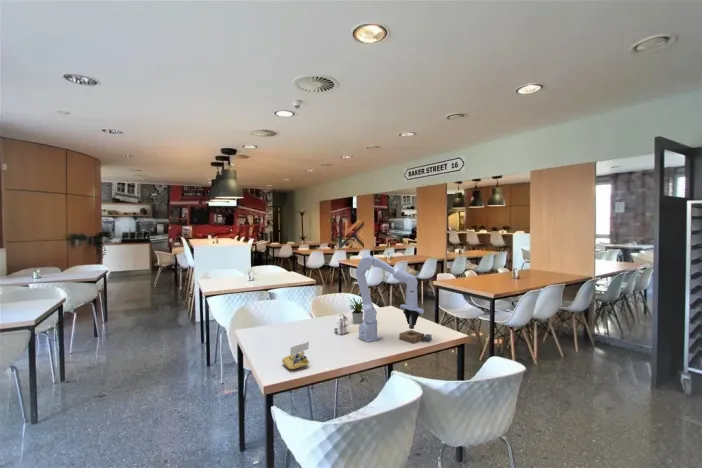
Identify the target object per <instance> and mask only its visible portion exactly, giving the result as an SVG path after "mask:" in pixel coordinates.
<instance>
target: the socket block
mask: <svg viewBox="0 0 702 468" xmlns="http://www.w3.org/2000/svg"><path fill="white" fill-rule="evenodd" d="M424 336H425V334H424V333H422V332H419V331H416V330H414V329H409V330H406V331H402V332H400V333H399V340H401V341H403V342H406V343H410V344H412V345H413V344H416V343H419V342H421V341H422V342H423V337H424Z"/></svg>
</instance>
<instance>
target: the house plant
mask: <svg viewBox="0 0 702 468" xmlns="http://www.w3.org/2000/svg"><path fill="white" fill-rule="evenodd" d="M352 299H353V300H352ZM352 299H351V298H350V297H348V300H349V304H350V305H349V308H350V310H352V312H351V315H352V322H353V324H362V323H363V319H364V306H363V301H362V298H359V299H357V301H356V299H355V297H353V296H352Z"/></svg>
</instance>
